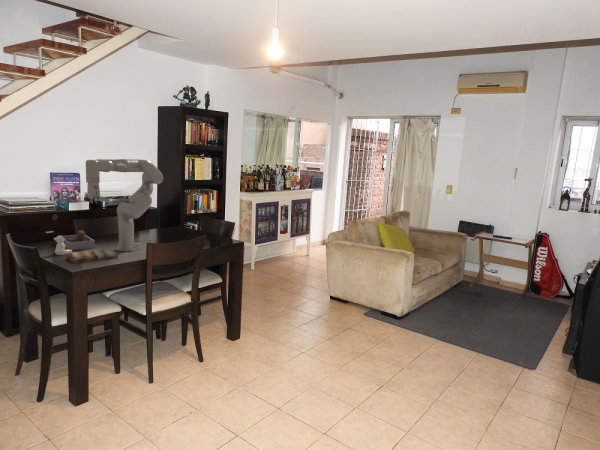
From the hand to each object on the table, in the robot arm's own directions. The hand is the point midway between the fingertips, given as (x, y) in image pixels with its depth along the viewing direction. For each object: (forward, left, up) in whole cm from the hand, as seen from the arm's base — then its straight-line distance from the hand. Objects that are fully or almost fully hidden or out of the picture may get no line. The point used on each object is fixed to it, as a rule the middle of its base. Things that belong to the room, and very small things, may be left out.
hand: (93, 209), depth 266 cm
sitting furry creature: (+16, -12, -29) cm, 36 cm away
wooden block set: (+2, -32, -30) cm, 44 cm away
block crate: (+2, -32, -29) cm, 43 cm away
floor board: (+3, +7, -29) cm, 30 cm away
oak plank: (+9, +7, -27) cm, 30 cm away
